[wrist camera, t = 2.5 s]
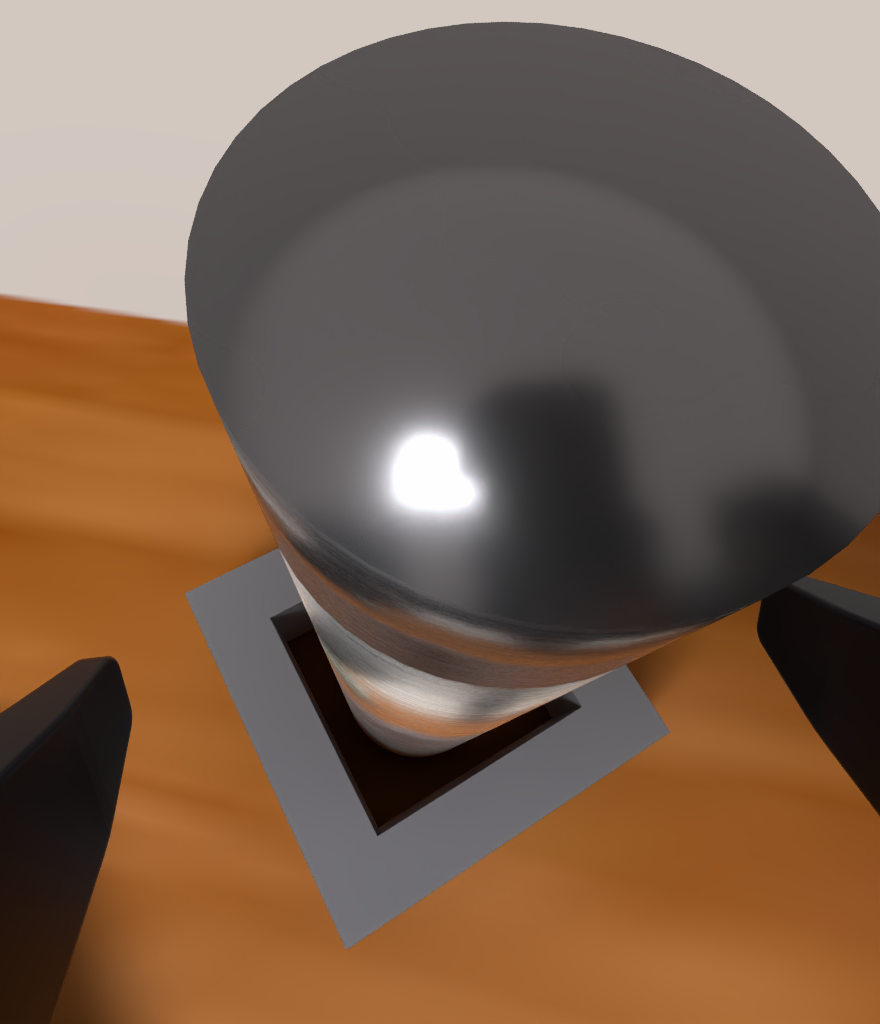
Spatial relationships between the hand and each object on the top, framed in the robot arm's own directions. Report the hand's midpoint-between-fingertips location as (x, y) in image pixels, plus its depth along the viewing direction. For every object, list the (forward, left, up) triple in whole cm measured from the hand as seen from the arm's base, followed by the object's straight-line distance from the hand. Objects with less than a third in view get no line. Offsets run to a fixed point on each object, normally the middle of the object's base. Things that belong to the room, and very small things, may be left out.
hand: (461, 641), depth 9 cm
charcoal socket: (+1, 0, -10) cm, 10 cm away
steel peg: (+1, 0, -10) cm, 10 cm away
